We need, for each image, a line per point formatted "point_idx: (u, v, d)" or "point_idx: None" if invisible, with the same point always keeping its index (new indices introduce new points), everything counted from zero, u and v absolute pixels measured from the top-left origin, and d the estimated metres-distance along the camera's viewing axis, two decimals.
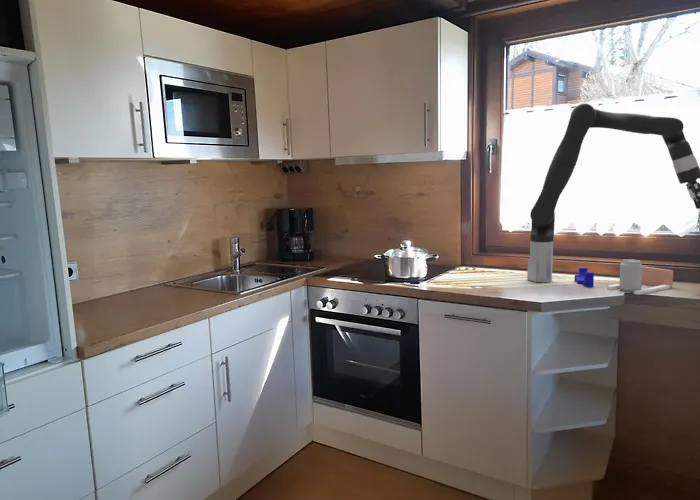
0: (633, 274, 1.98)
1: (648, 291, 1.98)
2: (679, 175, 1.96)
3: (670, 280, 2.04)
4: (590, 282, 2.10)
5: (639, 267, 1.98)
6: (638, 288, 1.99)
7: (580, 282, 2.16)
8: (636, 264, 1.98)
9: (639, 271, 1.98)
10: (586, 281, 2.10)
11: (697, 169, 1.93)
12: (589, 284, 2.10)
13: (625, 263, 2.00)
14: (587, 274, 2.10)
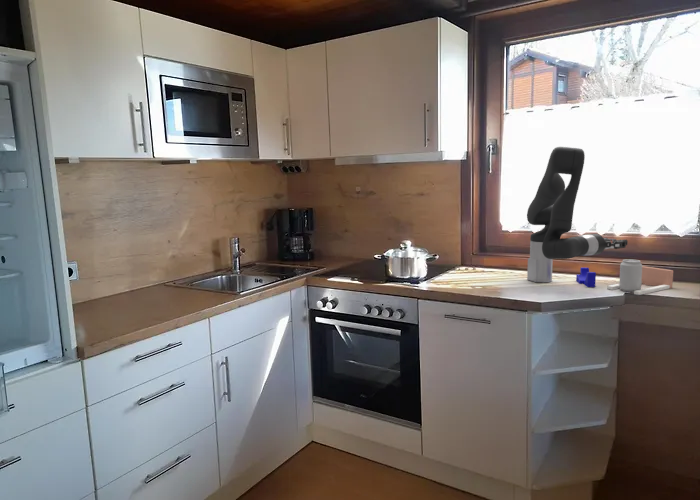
0: (633, 274, 1.98)
1: (648, 291, 1.98)
2: None
3: (670, 280, 2.04)
4: (592, 282, 2.10)
5: (639, 267, 1.98)
6: (638, 288, 1.99)
7: (582, 282, 2.16)
8: (636, 264, 1.98)
9: (639, 271, 1.98)
10: (588, 281, 2.10)
11: None
12: (591, 283, 2.10)
13: (625, 263, 2.00)
14: (589, 274, 2.10)
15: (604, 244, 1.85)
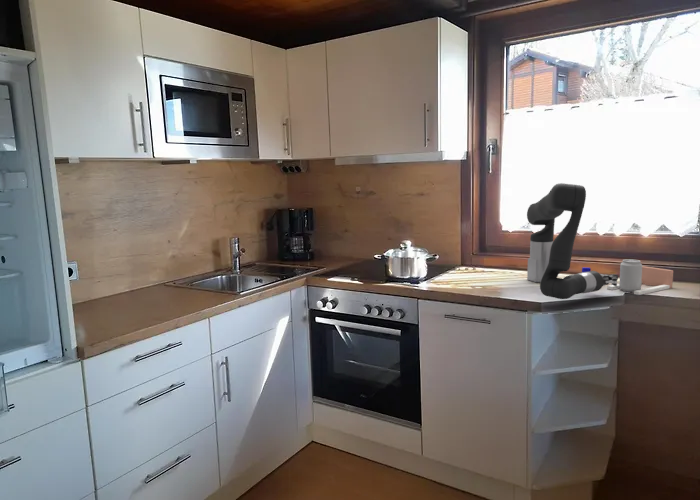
0: (633, 274, 1.98)
1: (648, 291, 1.98)
2: None
3: (670, 280, 2.04)
4: None
5: (639, 267, 1.98)
6: (638, 288, 1.99)
7: None
8: (636, 264, 1.98)
9: (639, 271, 1.98)
10: None
11: None
12: None
13: (625, 263, 2.00)
14: None
15: (602, 282, 1.87)
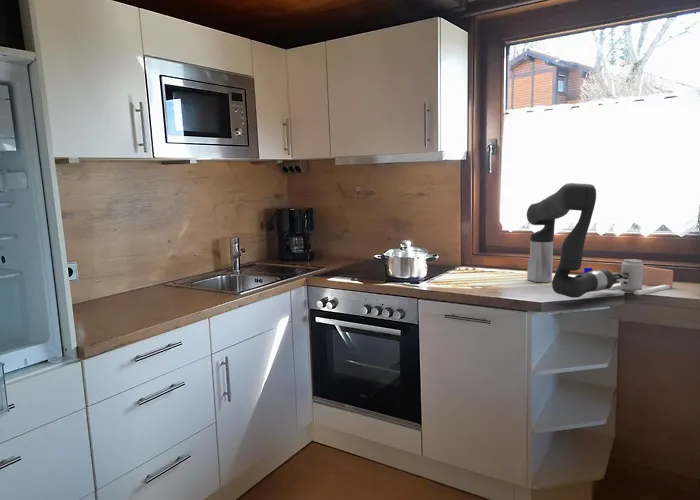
0: (635, 274, 1.98)
1: (648, 291, 1.98)
2: None
3: (670, 280, 2.04)
4: None
5: (640, 267, 1.98)
6: (639, 288, 1.99)
7: None
8: (637, 264, 1.98)
9: (640, 271, 1.98)
10: None
11: None
12: None
13: (626, 263, 2.00)
14: None
15: (613, 280, 1.90)
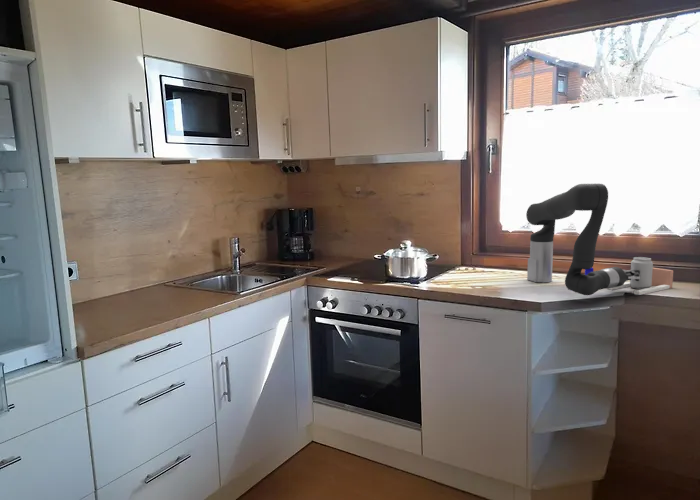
0: (646, 271, 2.02)
1: (648, 291, 1.98)
2: None
3: (670, 280, 2.04)
4: None
5: (651, 264, 2.02)
6: (650, 285, 2.03)
7: None
8: (648, 261, 2.02)
9: (651, 268, 2.02)
10: None
11: None
12: None
13: (637, 261, 2.03)
14: None
15: (624, 277, 1.93)
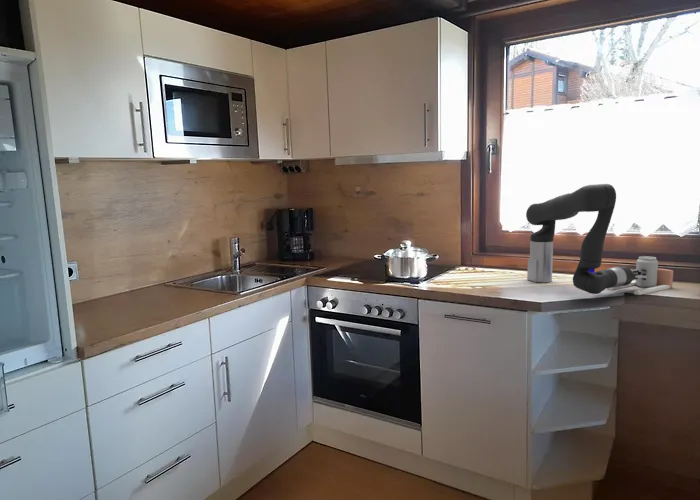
0: (653, 270, 2.04)
1: (648, 291, 1.98)
2: None
3: (670, 280, 2.04)
4: None
5: (657, 263, 2.05)
6: (656, 283, 2.06)
7: None
8: (654, 260, 2.05)
9: (657, 267, 2.05)
10: None
11: None
12: None
13: (644, 260, 2.05)
14: None
15: (632, 276, 1.95)
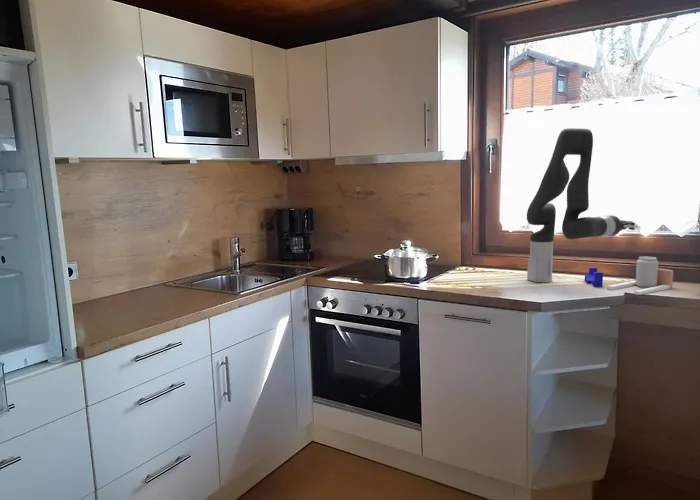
0: (653, 271, 2.04)
1: (648, 291, 1.98)
2: None
3: (670, 280, 2.04)
4: (599, 282, 2.10)
5: (657, 263, 2.05)
6: (656, 284, 2.06)
7: (590, 282, 2.16)
8: (655, 261, 2.04)
9: (657, 267, 2.05)
10: (595, 281, 2.10)
11: None
12: (599, 283, 2.10)
13: (644, 260, 2.05)
14: (596, 274, 2.10)
15: (620, 225, 1.89)
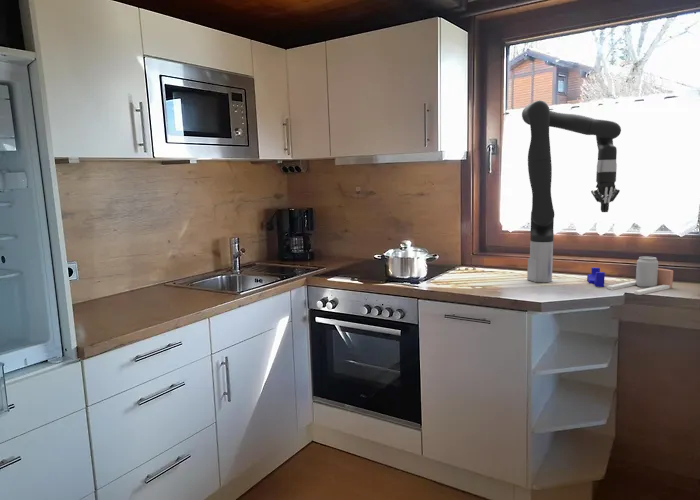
0: (653, 271, 2.04)
1: (648, 291, 1.98)
2: None
3: (670, 280, 2.04)
4: (601, 282, 2.10)
5: (657, 263, 2.05)
6: (656, 284, 2.06)
7: (592, 282, 2.16)
8: (655, 261, 2.04)
9: (657, 267, 2.05)
10: (597, 281, 2.10)
11: (605, 174, 2.16)
12: (600, 283, 2.10)
13: (645, 260, 2.05)
14: (598, 274, 2.10)
15: None
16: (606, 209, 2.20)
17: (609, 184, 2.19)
